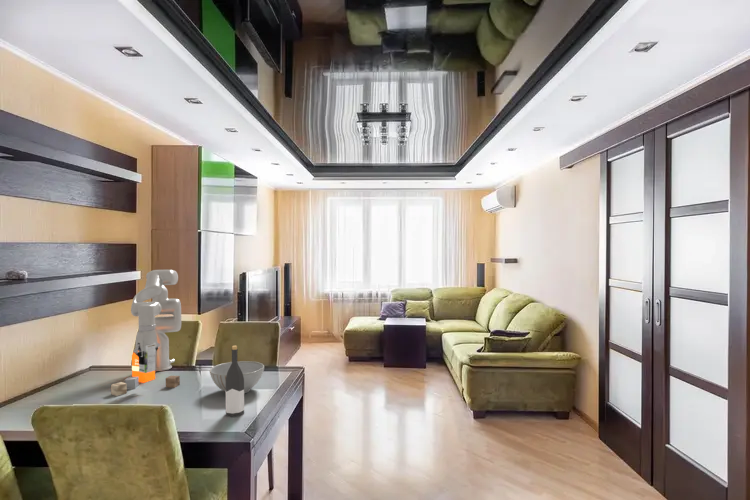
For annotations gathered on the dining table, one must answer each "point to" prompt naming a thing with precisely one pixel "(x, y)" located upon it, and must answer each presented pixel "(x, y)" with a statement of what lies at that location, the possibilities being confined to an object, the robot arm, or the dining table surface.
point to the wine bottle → (234, 388)
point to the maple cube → (118, 388)
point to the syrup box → (148, 359)
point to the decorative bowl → (248, 368)
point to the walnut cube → (172, 381)
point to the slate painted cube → (132, 382)
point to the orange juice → (142, 376)
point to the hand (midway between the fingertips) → (147, 362)
